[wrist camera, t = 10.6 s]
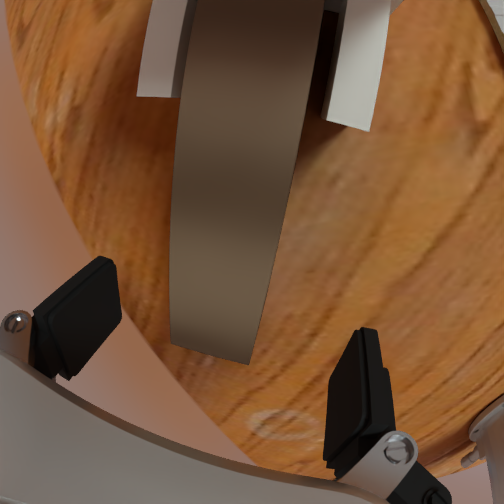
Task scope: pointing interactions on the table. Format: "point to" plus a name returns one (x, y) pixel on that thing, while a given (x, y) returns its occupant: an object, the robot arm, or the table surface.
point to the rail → (236, 165)
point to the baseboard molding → (495, 17)
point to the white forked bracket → (341, 68)
